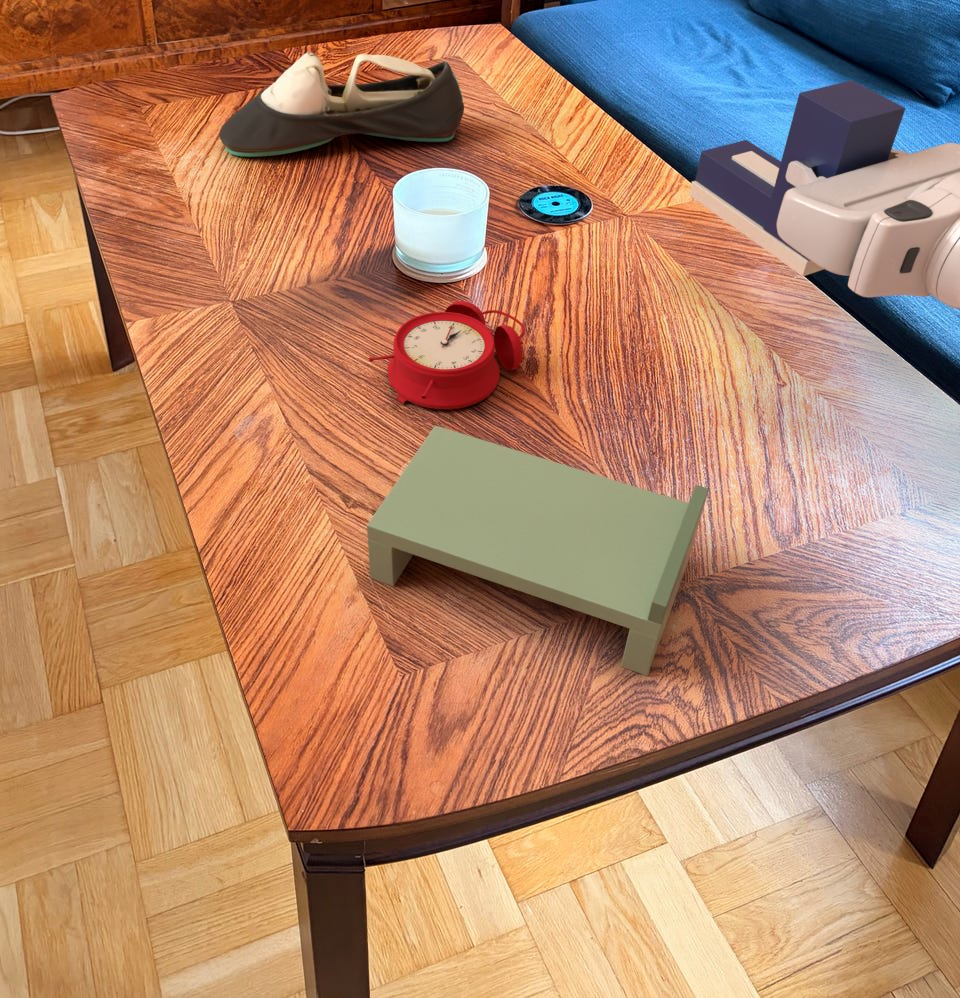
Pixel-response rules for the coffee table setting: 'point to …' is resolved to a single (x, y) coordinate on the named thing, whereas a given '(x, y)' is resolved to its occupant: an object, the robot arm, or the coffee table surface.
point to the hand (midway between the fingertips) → (824, 159)
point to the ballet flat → (345, 108)
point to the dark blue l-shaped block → (813, 136)
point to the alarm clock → (451, 357)
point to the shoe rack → (540, 533)
